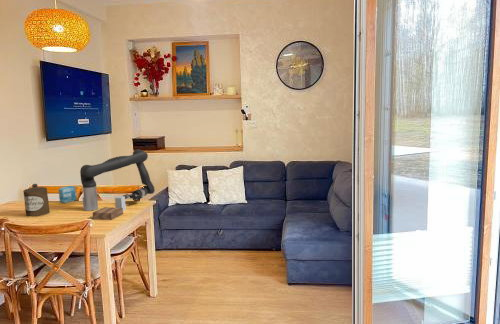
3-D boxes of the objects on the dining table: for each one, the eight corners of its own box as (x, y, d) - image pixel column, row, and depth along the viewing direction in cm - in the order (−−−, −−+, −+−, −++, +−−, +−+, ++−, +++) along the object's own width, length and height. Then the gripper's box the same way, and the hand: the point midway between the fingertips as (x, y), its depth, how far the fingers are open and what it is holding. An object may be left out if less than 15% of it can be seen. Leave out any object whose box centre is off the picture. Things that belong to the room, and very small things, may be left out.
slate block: (115, 211, 268) (114, 197, 267) (119, 209, 273) (118, 196, 272) (122, 211, 267) (121, 197, 266) (125, 209, 272) (124, 196, 271)
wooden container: (21, 217, 258) (18, 186, 255) (32, 211, 273) (29, 182, 270) (43, 216, 259) (40, 185, 256) (53, 210, 274) (50, 181, 271)
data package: (63, 203, 295) (62, 188, 293) (59, 203, 297) (58, 188, 295) (76, 200, 306) (75, 185, 304) (72, 199, 308) (71, 185, 306)
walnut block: (93, 219, 250) (92, 212, 249) (105, 213, 263) (104, 207, 262) (111, 220, 246) (111, 213, 246) (123, 214, 260) (122, 207, 259)
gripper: (130, 189, 297) (119, 193, 281) (146, 189, 294) (136, 194, 278) (130, 198, 298) (119, 203, 282) (147, 198, 295) (136, 203, 279)
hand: (128, 198), depth 280 cm, fingers open, 8 cm apart
